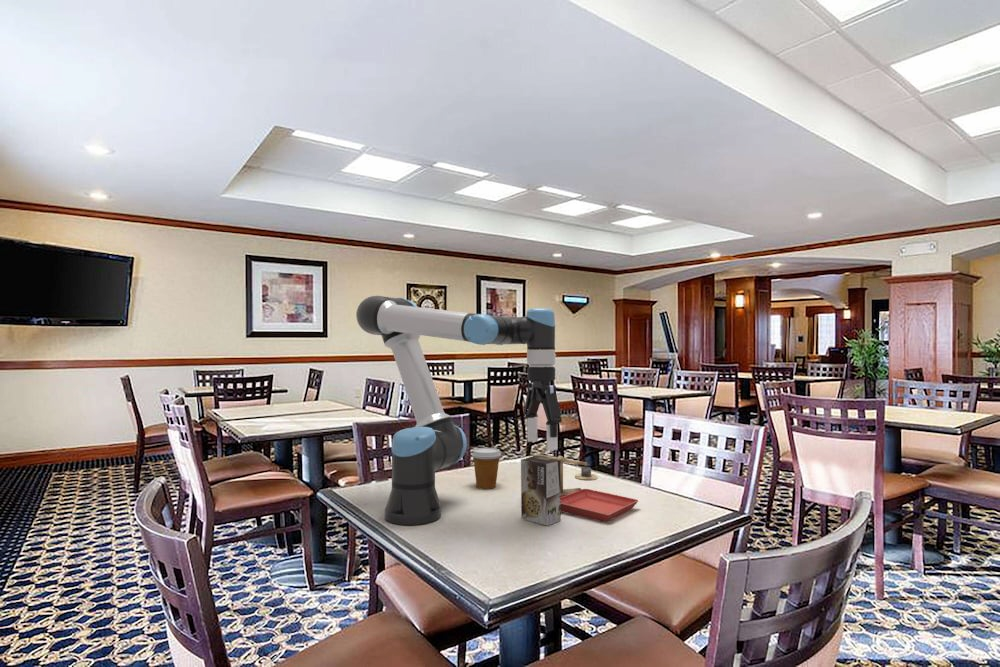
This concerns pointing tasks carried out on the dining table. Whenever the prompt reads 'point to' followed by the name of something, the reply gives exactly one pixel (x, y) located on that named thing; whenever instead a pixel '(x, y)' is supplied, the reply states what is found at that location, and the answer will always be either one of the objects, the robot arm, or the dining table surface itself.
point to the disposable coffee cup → (486, 466)
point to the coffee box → (540, 490)
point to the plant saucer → (596, 504)
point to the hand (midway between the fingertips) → (541, 445)
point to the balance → (584, 475)
